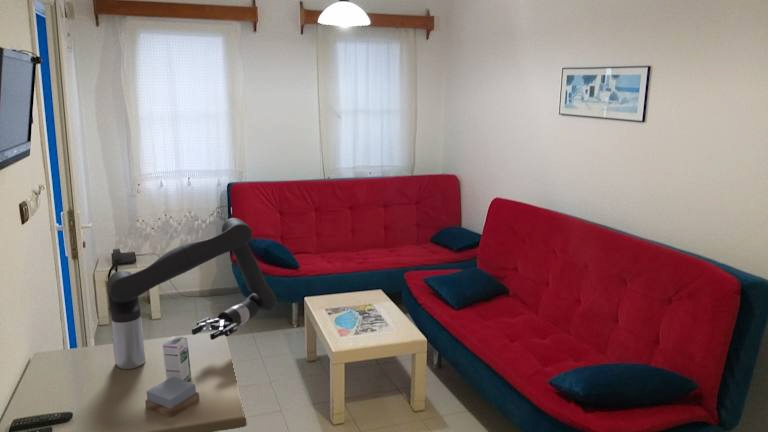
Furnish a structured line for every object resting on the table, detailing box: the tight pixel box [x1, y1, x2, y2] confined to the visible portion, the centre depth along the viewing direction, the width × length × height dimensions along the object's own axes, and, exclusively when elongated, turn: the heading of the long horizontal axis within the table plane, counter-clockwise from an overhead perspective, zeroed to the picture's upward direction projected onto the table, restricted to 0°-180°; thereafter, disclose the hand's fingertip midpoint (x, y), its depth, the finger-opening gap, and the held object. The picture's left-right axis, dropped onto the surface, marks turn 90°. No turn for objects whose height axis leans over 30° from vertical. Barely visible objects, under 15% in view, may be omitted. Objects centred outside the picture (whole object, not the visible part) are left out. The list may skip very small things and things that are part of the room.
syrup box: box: [162, 336, 192, 382], centre depth 194 cm, size 6×6×14 cm
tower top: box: [146, 377, 197, 409], centre depth 181 cm, size 10×10×3 cm
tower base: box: [144, 391, 200, 418], centre depth 182 cm, size 11×11×3 cm
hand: (201, 334), depth 202 cm, fingers open, 8 cm apart
